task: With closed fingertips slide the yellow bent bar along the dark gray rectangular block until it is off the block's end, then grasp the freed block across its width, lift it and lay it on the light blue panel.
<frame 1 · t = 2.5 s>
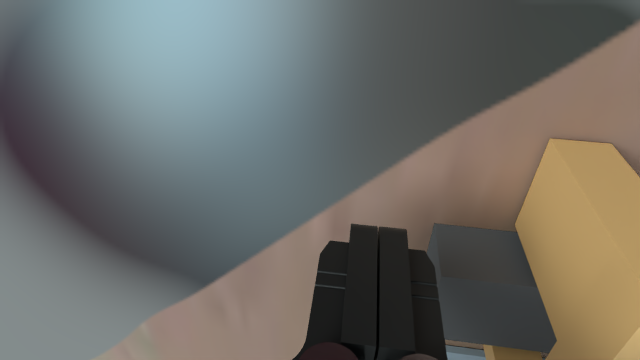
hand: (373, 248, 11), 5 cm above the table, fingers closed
dark gray rectangular block: (587, 267, 18), on the table
yellow bent bar: (560, 317, 14), point 4 cm above the table, slide at 0.0 cm
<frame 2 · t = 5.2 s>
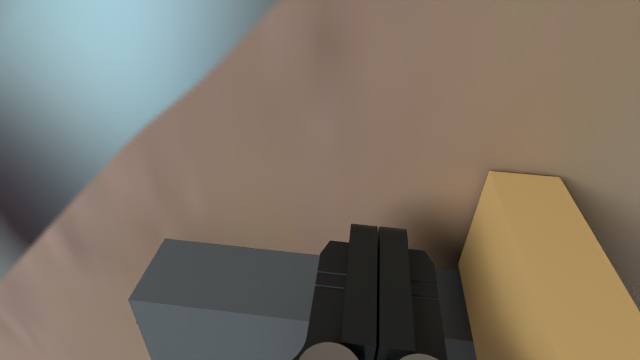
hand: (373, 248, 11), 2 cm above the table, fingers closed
dark gray rectangular block: (343, 285, 17), on the table
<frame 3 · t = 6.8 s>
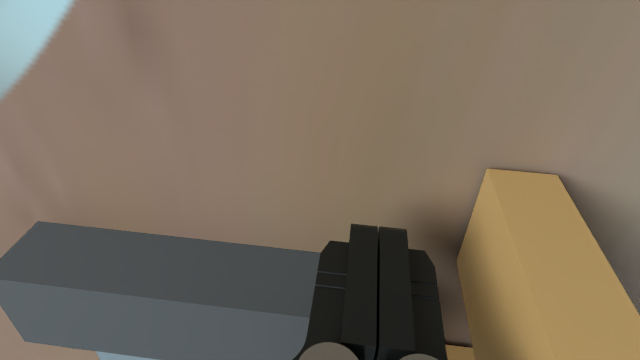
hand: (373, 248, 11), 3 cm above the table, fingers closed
dark gray rectangular block: (217, 267, 17), on the table
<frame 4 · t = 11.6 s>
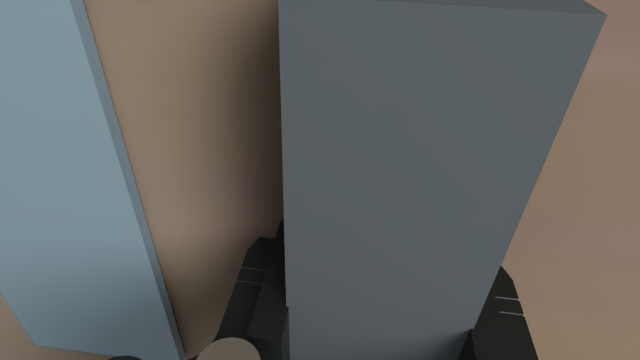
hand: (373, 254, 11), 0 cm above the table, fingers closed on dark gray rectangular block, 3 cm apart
dark gray rectangular block: (374, 241, 12), on the table, touching gripper
light blue panel: (50, 212, 12), on the table
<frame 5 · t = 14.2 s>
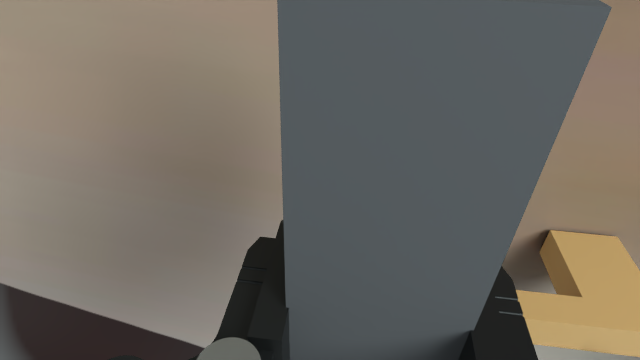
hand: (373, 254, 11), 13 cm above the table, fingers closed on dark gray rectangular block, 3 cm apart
dark gray rectangular block: (375, 239, 11), point 13 cm above the table, touching gripper
yellow bent bar: (545, 282, 24), point 4 cm above the table, slide at 13.1 cm
when the fingers open (1 cm above the table, at t = 16.9 s): dark gray rectangular block stays where it is, resting on light blue panel.
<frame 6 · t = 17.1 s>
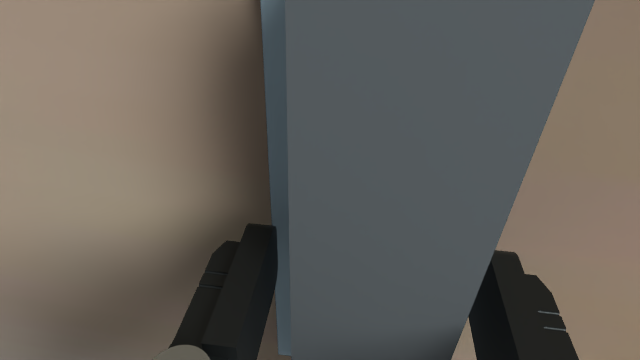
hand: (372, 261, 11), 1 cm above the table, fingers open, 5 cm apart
dark gray rectangular block: (375, 228, 12), resting on light blue panel
light blue panel: (373, 224, 12), on the table
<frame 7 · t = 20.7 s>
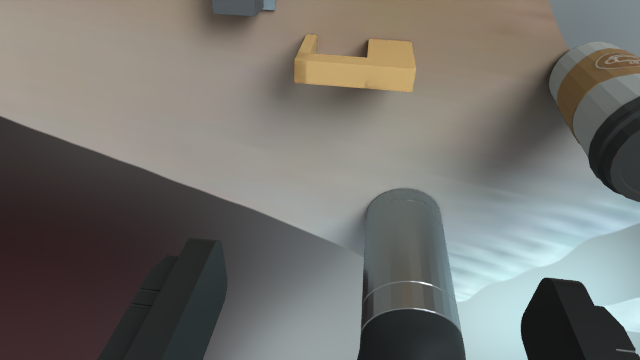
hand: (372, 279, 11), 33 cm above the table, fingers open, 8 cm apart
yellow bent bar: (355, 61, 37), point 4 cm above the table, slide at 13.1 cm
coffee cup: (582, 72, 39), on the table
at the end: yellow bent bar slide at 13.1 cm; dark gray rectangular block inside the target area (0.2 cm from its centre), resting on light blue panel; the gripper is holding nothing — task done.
